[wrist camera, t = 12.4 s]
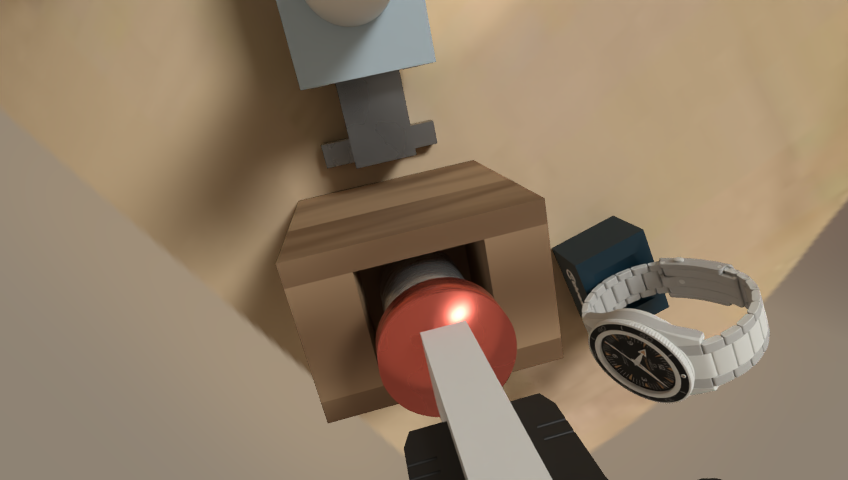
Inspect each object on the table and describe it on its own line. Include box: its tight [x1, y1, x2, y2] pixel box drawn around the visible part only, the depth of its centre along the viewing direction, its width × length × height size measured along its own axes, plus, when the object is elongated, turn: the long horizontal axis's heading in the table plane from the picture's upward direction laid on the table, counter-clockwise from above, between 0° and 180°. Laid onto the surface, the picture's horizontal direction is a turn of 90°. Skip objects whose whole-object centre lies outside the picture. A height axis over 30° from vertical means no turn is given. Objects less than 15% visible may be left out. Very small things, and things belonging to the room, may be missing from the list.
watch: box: [552, 216, 770, 403], centre depth 25 cm, size 6×8×11 cm
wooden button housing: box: [276, 160, 563, 423], centre depth 23 cm, size 7×10×10 cm
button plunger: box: [376, 250, 517, 417], centre depth 18 cm, size 5×5×6 cm
